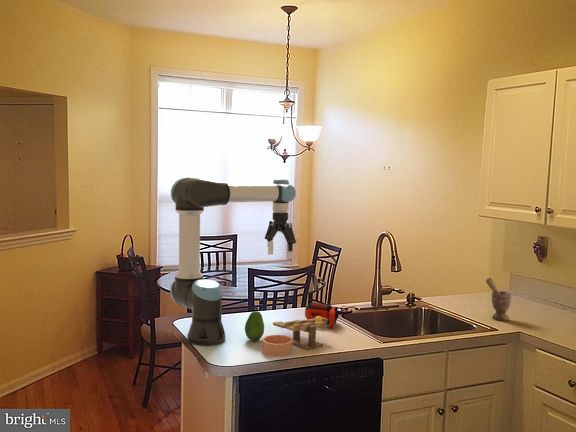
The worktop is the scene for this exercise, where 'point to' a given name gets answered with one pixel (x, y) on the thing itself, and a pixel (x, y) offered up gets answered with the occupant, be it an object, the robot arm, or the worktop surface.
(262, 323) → the fruit
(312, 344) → the stand
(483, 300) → the worktop surface
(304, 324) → the lever
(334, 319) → the power drill
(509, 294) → the mortar and pestle
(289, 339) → the terracotta bowl
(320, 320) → the ball
